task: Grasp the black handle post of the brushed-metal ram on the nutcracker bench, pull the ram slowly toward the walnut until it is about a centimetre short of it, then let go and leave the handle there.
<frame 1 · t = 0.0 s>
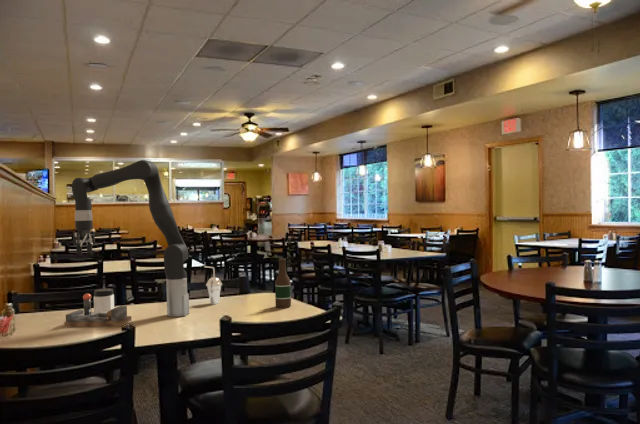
hand: (84, 253, 232), 29 cm above the table, tool pointing down, fingers open, 8 cm apart
cup with straw: (214, 303, 254), on the table
jar: (104, 315, 231), on the table
bench: (98, 323, 214), on the table
beer bottle: (283, 307, 242), on the table
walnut: (111, 323, 213), resting on bench
ram: (88, 305, 214), point 8 cm above the table, slide at 0.0 cm
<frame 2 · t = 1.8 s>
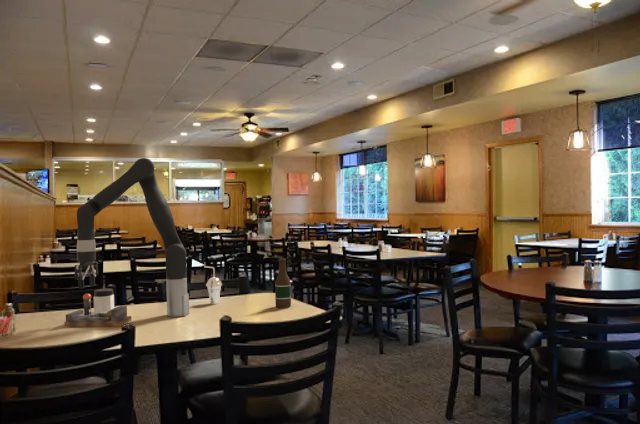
hand: (86, 286, 214), 16 cm above the table, tool pointing down, fingers open, 8 cm apart
nothing on the table moved.
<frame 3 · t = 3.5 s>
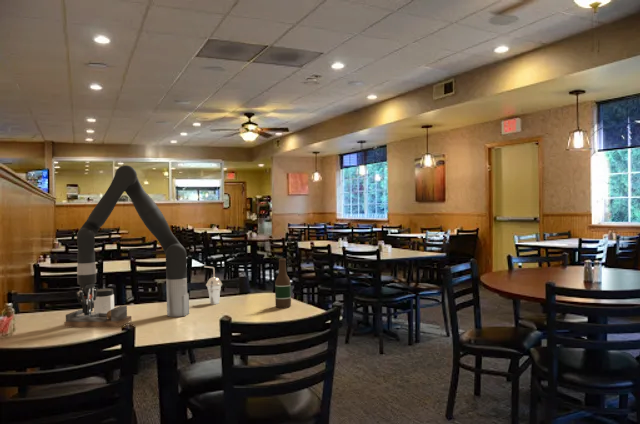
hand: (87, 311, 214), 5 cm above the table, tool pointing down, fingers closed on ram, 3 cm apart
ram: (88, 305, 214), point 8 cm above the table, slide at 0.0 cm, touching gripper
everything else where it was.
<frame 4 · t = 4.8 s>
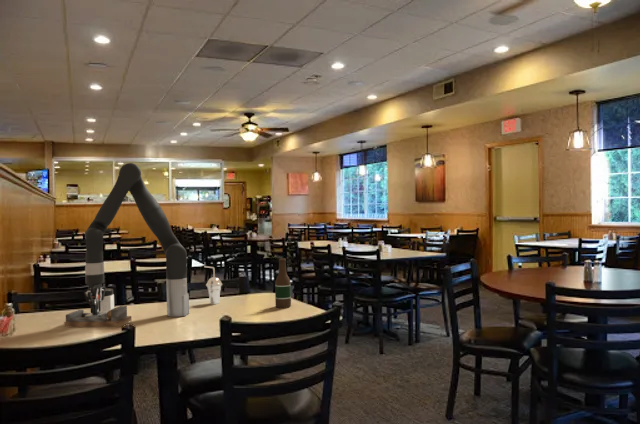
hand: (95, 311, 214), 5 cm above the table, tool pointing down, fingers closed on ram, 3 cm apart
ram: (96, 305, 214), point 8 cm above the table, slide at 3.7 cm, touching gripper
everything else where it was.
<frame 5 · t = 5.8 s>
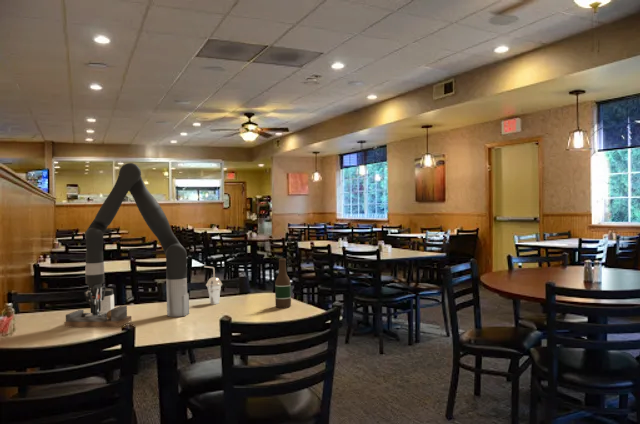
hand: (95, 311, 214), 5 cm above the table, tool pointing down, fingers open, 3 cm apart
ram: (96, 305, 214), point 8 cm above the table, slide at 3.7 cm
everything else where it was.
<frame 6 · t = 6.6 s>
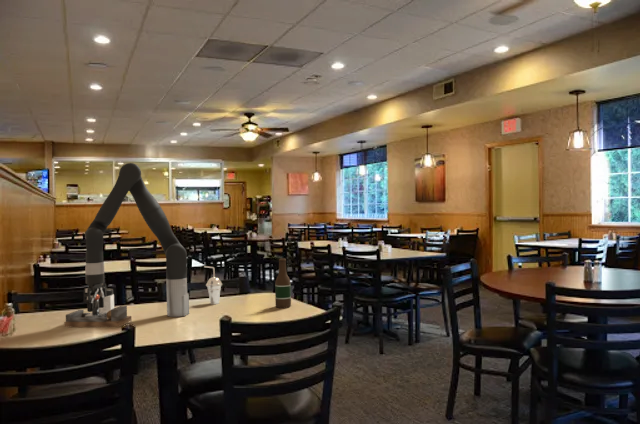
hand: (95, 309, 214), 6 cm above the table, tool pointing down, fingers open, 8 cm apart
nothing on the table moved.
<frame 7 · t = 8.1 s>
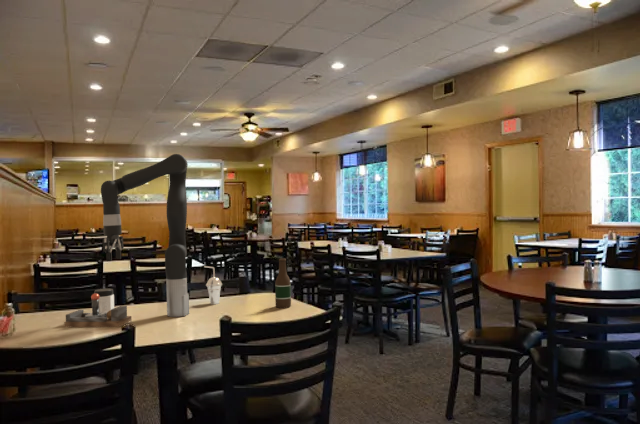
hand: (114, 259, 222), 27 cm above the table, tool pointing down, fingers open, 8 cm apart
nothing on the table moved.
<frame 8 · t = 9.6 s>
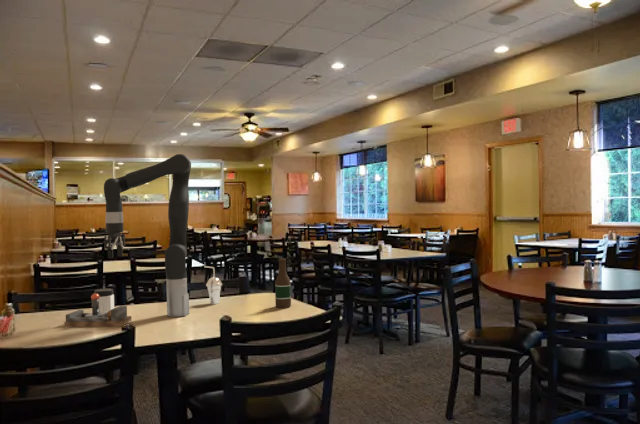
hand: (115, 257, 223), 28 cm above the table, tool pointing down, fingers open, 8 cm apart
nothing on the table moved.
at the end: ram slide at 3.7 cm; the gripper is holding nothing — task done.
